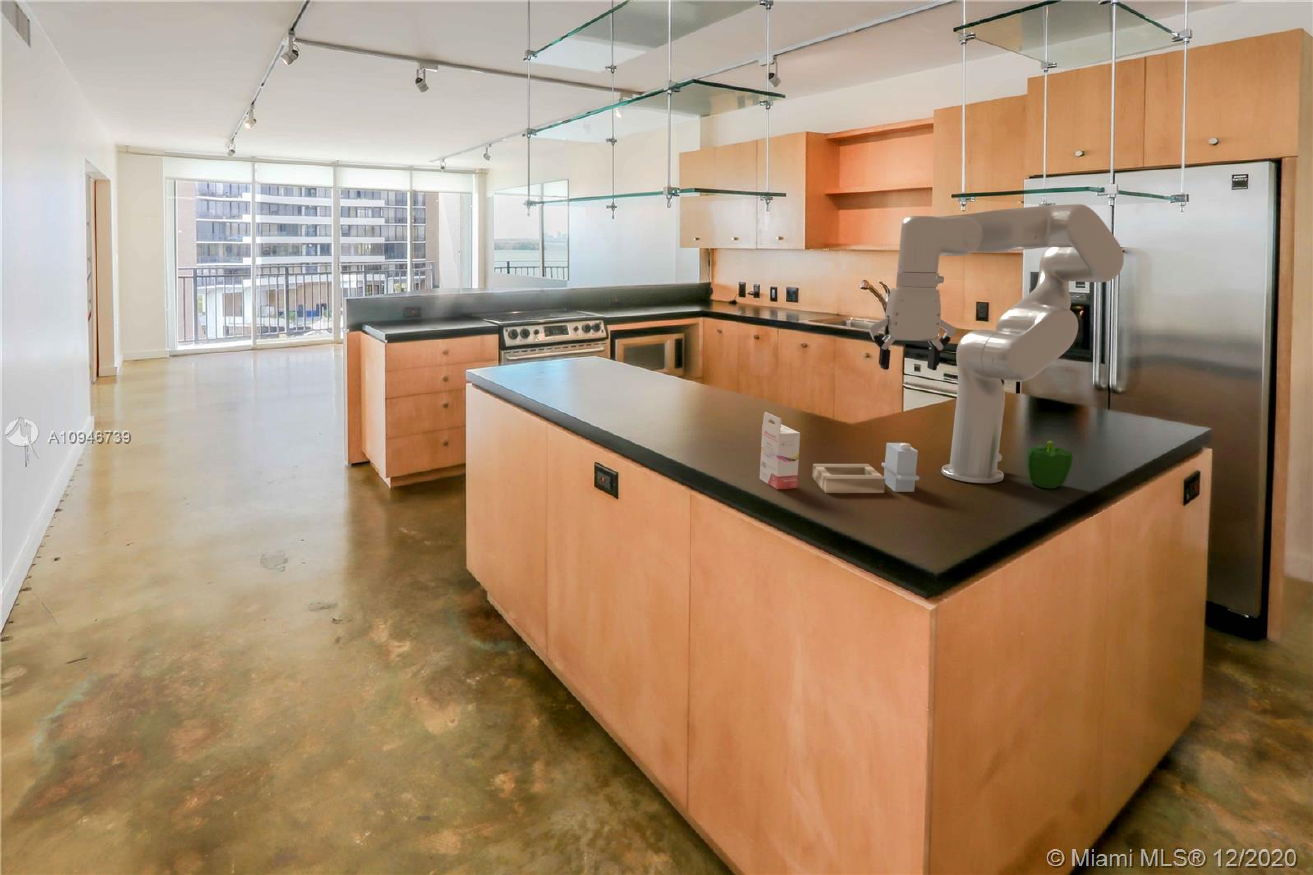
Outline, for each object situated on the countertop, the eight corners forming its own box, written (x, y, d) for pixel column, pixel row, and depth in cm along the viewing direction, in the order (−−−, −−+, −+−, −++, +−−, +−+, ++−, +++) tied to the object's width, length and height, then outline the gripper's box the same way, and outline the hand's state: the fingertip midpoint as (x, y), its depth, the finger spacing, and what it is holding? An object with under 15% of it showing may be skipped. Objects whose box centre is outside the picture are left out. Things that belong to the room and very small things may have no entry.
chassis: (812, 477, 168) (812, 463, 168) (867, 477, 169) (868, 463, 168) (825, 492, 158) (826, 478, 157) (884, 492, 158) (885, 478, 157)
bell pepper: (1037, 477, 170) (1043, 433, 168) (1075, 487, 164) (1082, 441, 161) (1015, 483, 166) (1021, 437, 164) (1052, 493, 159) (1059, 446, 157)
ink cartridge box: (798, 488, 160) (802, 418, 157) (776, 490, 159) (780, 419, 155) (779, 477, 168) (783, 409, 165) (758, 478, 167) (761, 410, 163)
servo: (898, 479, 168) (902, 436, 166) (917, 494, 157) (922, 448, 155) (880, 479, 168) (883, 435, 166) (898, 494, 157) (902, 448, 155)
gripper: (951, 281, 157) (942, 366, 161) (866, 280, 156) (859, 365, 160) (968, 283, 150) (958, 372, 154) (879, 281, 149) (871, 371, 153)
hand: (908, 369), depth 157 cm, fingers open, 9 cm apart
